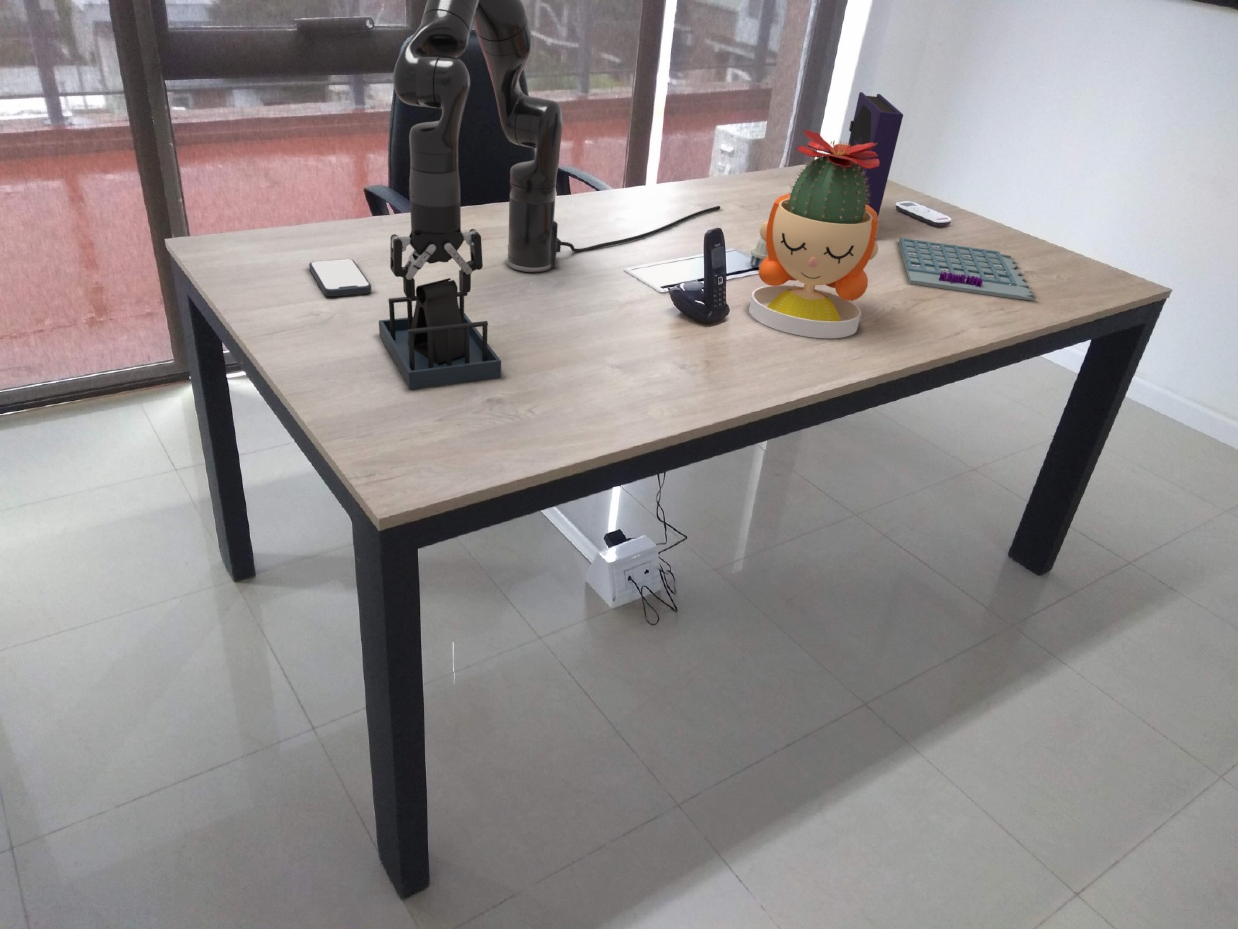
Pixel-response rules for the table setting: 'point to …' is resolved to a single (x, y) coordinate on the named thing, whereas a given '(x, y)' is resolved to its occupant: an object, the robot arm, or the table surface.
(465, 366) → the drying rack
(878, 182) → the book
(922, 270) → the calendar
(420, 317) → the phone stand
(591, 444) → the table surface
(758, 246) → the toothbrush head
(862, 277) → the potted cactus
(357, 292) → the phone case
